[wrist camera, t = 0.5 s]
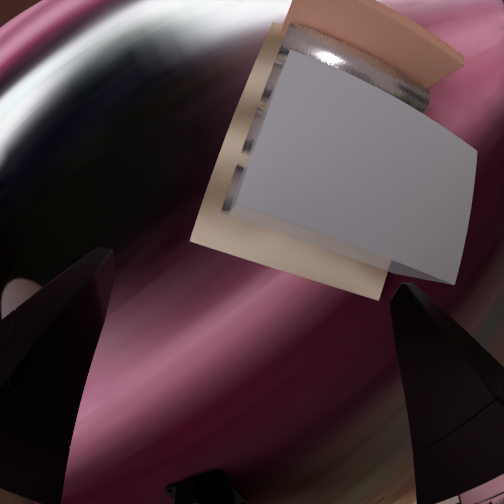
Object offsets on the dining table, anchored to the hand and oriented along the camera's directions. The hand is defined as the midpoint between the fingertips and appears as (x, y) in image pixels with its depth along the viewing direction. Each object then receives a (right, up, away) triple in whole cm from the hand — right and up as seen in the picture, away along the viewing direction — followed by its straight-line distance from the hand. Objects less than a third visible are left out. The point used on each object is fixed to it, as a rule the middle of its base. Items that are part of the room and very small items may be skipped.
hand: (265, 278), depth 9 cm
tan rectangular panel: (+9, +18, +15) cm, 25 cm away
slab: (+5, +5, +11) cm, 13 cm away
